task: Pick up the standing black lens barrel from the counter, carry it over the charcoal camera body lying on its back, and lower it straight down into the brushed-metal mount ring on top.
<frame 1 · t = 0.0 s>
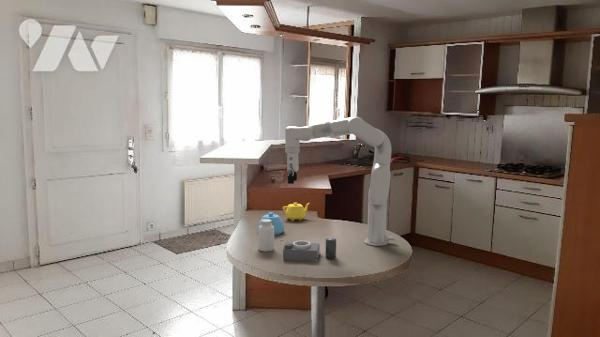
hand: (292, 182, 247), 31 cm above the table, tool pointing down, fingers open, 9 cm apart
pill bottle: (266, 249, 233), on the table
camera body: (301, 256, 223), on the table
teapot: (296, 219, 295), on the table
lens: (330, 257, 221), on the table
sugar bowl: (271, 232, 264), on the table
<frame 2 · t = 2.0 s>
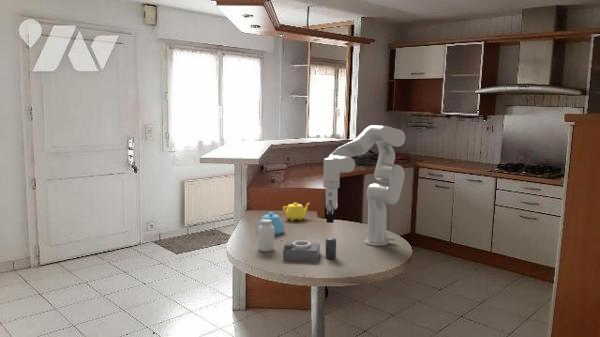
hand: (330, 220, 218), 18 cm above the table, tool pointing down, fingers open, 9 cm apart
nothing on the table moved.
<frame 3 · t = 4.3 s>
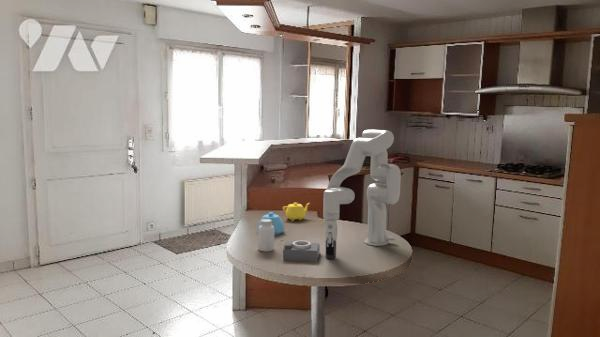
hand: (330, 252, 220), 2 cm above the table, tool pointing down, fingers closed on lens, 5 cm apart
lens: (330, 257, 221), on the table, touching gripper
everything else where it was.
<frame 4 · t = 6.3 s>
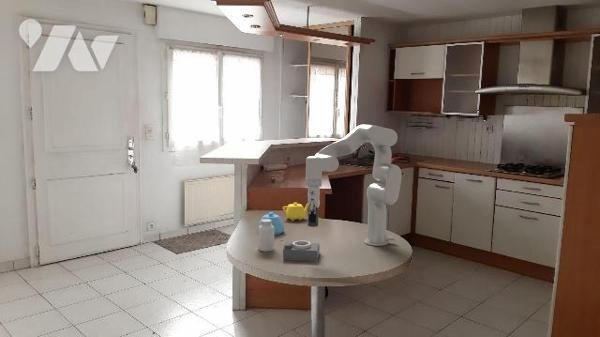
hand: (313, 220, 219), 18 cm above the table, tool pointing down, fingers closed on lens, 5 cm apart
lens: (313, 225, 220), point 15 cm above the table, touching gripper
everything else where it was.
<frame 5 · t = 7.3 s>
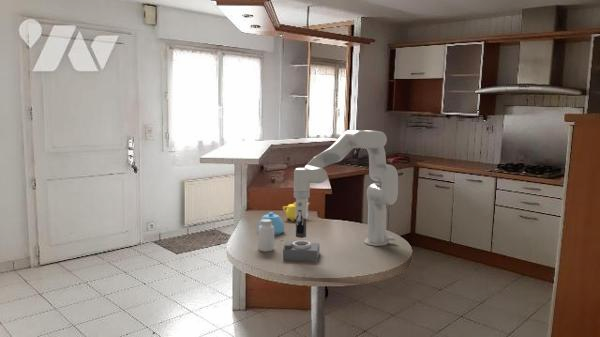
hand: (301, 231, 221), 12 cm above the table, tool pointing down, fingers closed on lens, 5 cm apart
lens: (300, 236, 221), point 10 cm above the table, touching gripper
everything else where it was.
when the fingers open (8 cm above the table, at t = 8.4 s): lens stays where it is, resting on camera body.
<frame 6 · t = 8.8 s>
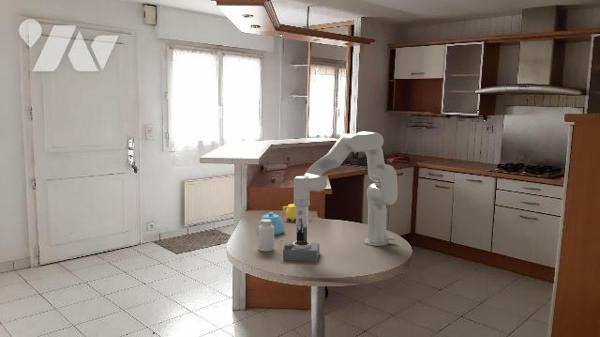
hand: (301, 237, 221), 9 cm above the table, tool pointing down, fingers open, 9 cm apart
lens: (301, 246, 222), point 5 cm above the table, touching camera body
everything else where it was.
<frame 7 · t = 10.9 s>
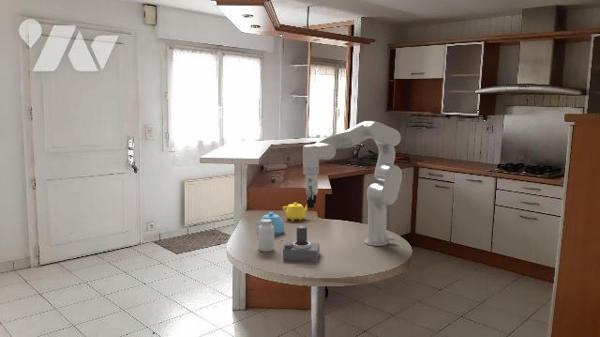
hand: (311, 205, 224), 24 cm above the table, tool pointing down, fingers open, 9 cm apart
nothing on the table moved.
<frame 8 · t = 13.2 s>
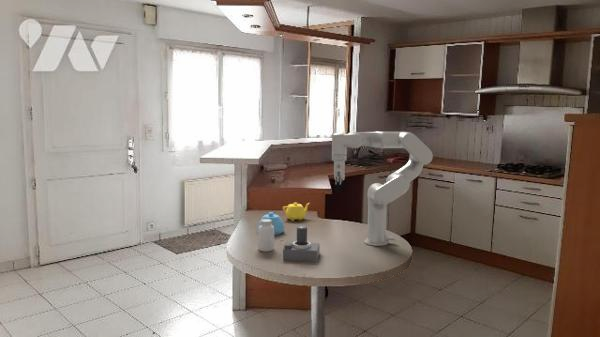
hand: (338, 190, 239), 28 cm above the table, tool pointing down, fingers open, 9 cm apart
nothing on the table moved.
at the end: lens 0.1 cm off-centre on the camera body, point 5.0 cm above the camera body's base; lens tilted 1°; the gripper is holding nothing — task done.
